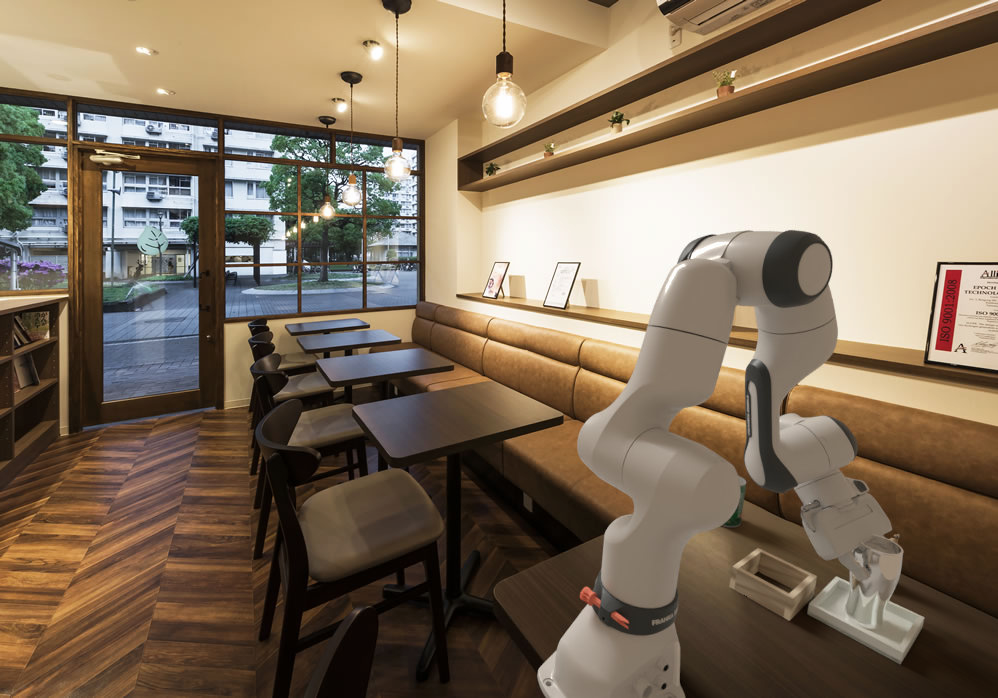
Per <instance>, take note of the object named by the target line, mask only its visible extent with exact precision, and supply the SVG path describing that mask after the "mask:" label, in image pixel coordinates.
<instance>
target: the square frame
mask: <svg viewBox="0 0 998 698" xmlns="http://www.w3.org/2000/svg"><path fill="white" fill-rule="evenodd" d="M757 573H760V574H762V575H764V576H765V577H768V578H770V579H772V580H774V581H775V582H778V583H779V584H782V585H783V586H786V587H787V588H789V589H791V591H790V592H787V591H785V590H784V589H782V588H780V587H778V586H776V585H775V584H772V583H770V582H769V581H766V580H764V579H762V578H761V577H759V576H757V575H755V574H757ZM817 579H818V576H817V575H816V574H813V573H812V572H810V571H807V570H806V569H803V568H801V567H799V566H796V565H794V564H793V563H791V562H789V561H786V560H785V559H783V558H780V557H778V556H776V555H774V554H772V553H769V552H767V551H766V550H764V549H761V548H759V547H758V548H756V549H754V550H753V551H751V552H750V553H749V554H748V555H746V556H745V557H744V558H742V559H740V560H739V561H738V562H736V563H735V564H733V565H732V566H731V572H730V579H729V588H730V589H732V590H734V591H736V592H737V593H738V594H741V595H742V596H744V595H745V596H744V597H746V596H747V597H746V598H748V599H749V600H751V601H753V602H755V603H757V604H759V605H760V606H762V607H764V608H766V609H768V610H769V611H771V612H773V613H775V614H776V615H778V616H780V617H782V618H783V619H785V620H787V621H789V622H790V621H791V620H792V619H793V618H794V617H795V616H796V615H797V614H798V613H799V612H800V611H801V610H802V609H803V608H804V607H805V606H806V605H807V604H809V603H810V602H811V601H812V600H813V599H814V596H815V592H816V586H817V585H816V584H817Z"/></svg>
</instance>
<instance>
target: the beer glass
mask: <svg viewBox="0 0 998 698" xmlns="http://www.w3.org/2000/svg"><path fill="white" fill-rule="evenodd" d="M873 536H874V537H875V539H874V540H872V541H870V542H868V543H866V544H864V543H862V542H861V541H860V547H858V548H856V549H855V550H853V551H852V553H853V555H854V556H855V558H854V559H855V560H856V561H857V562H858V563H859V564H860V565H861V566H862V567H866V569H867V571H868V572H869V574H870V578H868V579H867V580H863V581H858V580H857V579H856V578H855V576H854V575H853V573H852V572H851V571H850V570H849V569H848V570H849V582H850V593H849V597H848V600H847V602H846V604H845V606H844V609H843V611H844V614H845V615H846V616H847V618H848V619H850V620H851V621H852V622H854V623H855V624H857V625H859V626H861V627H863V628H866V629H869V630H875V631H880V630H883V629H884V628H885V610H886V606H887V604H888V602H889V601H890V599H891V597H892V595H893V594H894V591H896V588H897V585H898V583H899V580H900V577H901V571H902V566H903V555H904V549H903V547H902V546H901V545H899V543H898V544H897V543H895V542H893V541H891V540H889V539H890V538H887V537H885V536H884V537H882V536H879V535H875V534H873Z"/></svg>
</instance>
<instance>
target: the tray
mask: <svg viewBox="0 0 998 698" xmlns="http://www.w3.org/2000/svg"><path fill="white" fill-rule="evenodd" d="M849 593H850V581H847V580H845V579H843V578H840V577H839V576H835V577H834V578H833V579H832V580H830V581H829V582H828V584H827V585H826V586H825V587H824V588H822V590H821V591H820V592H819V593H818V594H817V595H816V596H815V597H813V598H812V599H811V600H810V601H809V602H808V607H807V614H806V615H808V616H810V617H812V618H813V619H816V620H817V621H819V622H821V623H823V624H825V625H827V626H829V627H830V628H832V629H834V630H836V631H837V632H839V633H841V634H843V635H845V636H847V637H849V638H851V639H853V640H855V641H856V642H858V643H860V644H862V645H864V646H865V647H868V648H869V649H871V650H872V651H875V652H876V653H878V654H879V655H881V656H884V657H885V658H887V659H889V660H891V661H893V662H895V663H897V664H899V665H902V664H903V661H905V660H904V659H905V658H906V657H907V655H908V653H909V651H910V649H911V648H912V646H913V645H914V643H915V641H916V640H917V638H918V636H919V634H920V632H921V631H922V630H923V626H924V622H925V616H922V615H920V614H918V613H916V612H914V611H912V610H909V609H908V608H905V607H903V606H901V605H899V604H897V603H894V602H892V601H891V600H889V602H888V604H887V606H886V610H885V628H884V629H883V630H880V631H875V630H869V629H866V628H863V627H861V626H859V625H857V624H855V623H854V622H852V621H851V620H850V619H848V618H847V616H846V615H845V614H844V611H843V609H844V606H845V604H846V602H847V600H848V597H849Z"/></svg>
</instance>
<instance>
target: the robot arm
mask: <svg viewBox="0 0 998 698" xmlns="http://www.w3.org/2000/svg"><path fill="white" fill-rule="evenodd" d="M833 261H834V260H833V255H832V251H831V249H830V248H829V246H828V244H827V243H826V242H825V241H824V240H823V239H822V238H821V236H819V235H818V234H816V233H812V232H809V231H805V230H795V229H789V230H785V231H775V230H772V231H771V230H763V231H762V230H757V231H756V230H755V231H754V230H750V229H749V230H740V231H731V232H726V233H721V234H713V233H711V234H707V235H704V236H700V237H698V238H696V239H693V240H691V241H690V242H689V243H688V244H687V245H686V246H685V247H684V248H683V250H682V251H681V253H680V255H679V257H678V259H677V262H676V264H675V265H674V266H673V267H672V268H671V270H669V272H668V275H667V276H666V277H665V280H664V283H663V284H662V286H661V288H660V290H659V293H658V295H657V298H656V300H655V303H654V305H653V307H652V311H651V314H650V316H649V320H648V323H647V327H646V331H645V334H644V338H643V341H642V344H641V347H640V350H639V354H638V356H637V360H636V362H635V366H634V369H633V371H632V374H631V376H630V378H629V379H628V382H627V383H626V385H625V387H624V388H623V390H622V391H621V392H620V394H619V395H618V397H617V398H615V400H614V401H613V402H612V403H611V404H610V405H609V406H608V407H606V408H604V409H603V410H601V411H599V412H596V413H594V414H592V415H591V416H590V417H589V418H588V419H587V420H586V421H585V422H584V424H583V425H582V426H581V428H580V430H579V433H578V436H577V442H576V445H577V446H576V448H577V449H576V450H577V454H578V457H579V459H580V460H581V462H582V463H583V464H585V466H586V467H588V470H590V471H591V472H592V473H593V474H595V475H596V477H598V478H599V479H600V480H602V481H604V482H605V483H607V484H608V485H610V486H612V487H613V488H615V489H617V490H619V491H620V492H622V493H624V494H626V495H627V496H629V497H630V498H631V499H632V502H633V512H632V514H631V513H630V514H625V515H621V516H619V517H617V518H615V520H613V521H612V522H611V523H610V524H609V525H608V527H607V529H605V532H604V534H603V535H604V536H603V547H602V548H603V549H602V558H601V559H602V560H601V569H600V570H599V571H598V575H597V577H596V579H595V582H594V587H593V588H592V589H591V588H590V587H588V586H584V587H583V588H582V589H581V591H580V592H579V593H580V594H579V598H580V600H582V601H583V602H585V603H587V604H586V605H585V607H584V608H583V609H582V610H581V611H580V613H579V614H578V616H577V617H576V618H575V620H574V621H573V622H572V624H571V625H570V626H569V628H568V629H567V630H566V631H565V633H564V634H563V635H562V637H561V638H560V640H559V642H558V644H557V648H556V649H555V651H554V652H553V653H552V654H551V655H550V656H549V657H548V658H547V659H546V660H545V661H544V662H543V663H542V665H540V667H539V668H538V670H537V682H538V684H539V688H540V690H541V692H542V694H543V695H544V697H545V698H686V695H685V692H684V690H683V687H682V686H681V685H682V684H681V683H680V678H681V677H680V673H681V646H680V645H681V644H680V641H679V637H678V634H677V633H678V632H677V629H676V625H675V621H676V618H677V616H678V615H677V614H678V611H679V603H680V600H679V590H678V587H677V586H678V579H679V578H678V577H679V572H680V567H681V566H680V565H681V562H682V556H683V552H684V550H685V548H686V545H687V544H688V542H689V541H690V540H691V539H692V538H693V537H694V536H696V535H698V534H701V533H704V532H709V531H710V532H711V531H712V530H716V529H717V528H719V527H722V526H721V525H723V524H724V523H725V522H727V521H728V520H729V519H730V518H731V516H732V515H733V514H734V512H735V510H736V509H737V506H738V503H739V500H740V493H741V489H740V481H739V477H738V476H739V474H738V472H737V469H736V467H735V466H734V465H733V464H732V463H731V462H730V461H728V460H726V458H724V457H722V456H721V455H719V454H718V453H716V452H715V451H713V449H710V448H709V447H707V446H705V445H704V444H702V443H700V442H696V441H694V440H692V439H689V438H688V437H687V438H686V437H684V436H682V435H679V434H676V433H674V432H671V431H670V430H669V429H670V426H671V424H672V422H673V421H674V419H675V417H676V416H677V415H678V414H679V413H680V412H681V411H683V410H684V409H688V408H692V407H695V406H700V405H701V404H703V403H705V402H707V401H708V400H709V399H710V398H711V397H712V396H713V394H714V392H715V389H716V387H717V381H718V378H719V376H720V371H721V369H722V365H723V361H724V358H725V354H726V352H727V348H728V344H729V340H730V337H731V332H732V327H733V323H734V317H735V313H736V312H735V310H736V307H737V306H741V307H752V308H753V307H754V315H755V320H756V326H757V333H758V334H757V343H756V348H755V350H754V354H753V356H752V359H751V360H750V362H749V363H748V364H747V365H746V368H745V373H744V406H745V407H744V408H745V410H744V411H745V437H746V438H745V445H744V450H743V461H744V465H745V469H746V471H747V473H748V475H749V477H750V478H751V480H752V481H753V482H754V483H755V485H757V486H759V487H760V488H762V489H764V490H767V491H770V492H772V493H778V494H785V493H787V492H789V491H791V490H794V491H795V493H796V495H797V496H798V498H799V499H800V501H801V503H802V506H801V507H800V518H801V520H802V521H801V523H802V526H803V529H804V531H805V533H806V535H807V537H808V539H809V540H810V543H811V545H812V546H813V549H814V550H815V552H816V554H817V555H818V556H819V557H820V558H822V559H823V560H825V561H831V560H834V559H838V561H839V563H840V564H841V565H843V566H844V567H845V568H847V570H850V571H851V572H852V573H853V575H854V576H855V578H856V579H857V580H858V581H863V580H867V579H868V578H870V574H869V572H868V571H867V569H866V567H862V566H861V565H860V564H859V563H858V562H857V561H856V560H855V559H854V558H855V556H854V555H853V553H852V551H853V550H855V549H856V548H858V547H860V541H861V542H862V543H864V544H866V543H868V542H870V541H872V540H874V539H875V537H874V536H873V534H875V535H879V536H882V537H885V536H884V535H885V534H887V533H890V532H891V531H892V530H893V526H892V523H891V521H890V519H889V517H888V516H887V514H886V513H885V511H884V510H883V508H882V507H881V505H880V504H879V502H878V501H877V500H876V499H875V497H874V496H873V495H871V494H870V493H868V492H869V491H870V488H869V486H868V485H867V483H866V482H865V481H863V480H861V479H857V478H851V477H848V476H845V474H843V472H842V471H841V470H840V469H841V468H843V467H846V466H848V465H849V464H851V463H852V462H853V461H854V460H855V459H856V457H857V454H858V448H859V447H858V441H857V439H856V436H855V435H854V434H853V432H852V430H850V428H849V427H848V426H847V425H846V424H845V423H844V422H843V421H841V420H839V419H838V418H836V417H833V416H829V415H825V414H822V415H819V416H811V417H810V416H809V417H802V416H800V415H799V414H797V413H793V412H792V413H791V412H788V413H784V414H781V415H780V410H781V406H782V403H783V400H784V399H785V398H786V396H787V395H788V394H789V393H790V392H791V390H793V388H794V387H796V386H797V385H798V384H800V383H801V381H803V380H805V379H806V378H807V377H808V376H809V375H811V374H813V372H815V371H816V370H819V368H820V367H822V366H823V365H824V364H825V363H827V361H828V360H829V359H830V358H831V357H832V355H833V354H834V352H835V349H836V347H837V345H838V338H839V337H838V335H839V334H838V333H839V327H838V321H837V315H836V309H835V303H834V299H833V296H832V295H833V294H832V290H831V288H830V285H829V283H830V281H831V277H832V273H833V268H834V267H833V265H834V264H833V263H834V262H833ZM850 571H849V572H850Z"/></svg>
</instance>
